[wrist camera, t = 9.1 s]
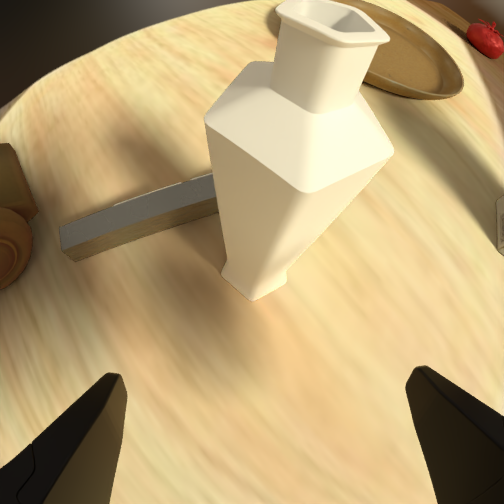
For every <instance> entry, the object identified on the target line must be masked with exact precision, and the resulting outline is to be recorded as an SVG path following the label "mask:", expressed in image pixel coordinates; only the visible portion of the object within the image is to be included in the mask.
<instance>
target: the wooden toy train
mask: <svg viewBox="0 0 504 504" xmlns="http://www.w3.org/2000/svg"><path fill="white" fill-rule="evenodd" d="M38 212H39V210H38V208H37V206H36V203H35V201H34V199H33V196H32V194H31V191H30V189H29V187H28V184H27V182H26V179H25V176H24V174H23V171H22V169H21V166H20V163H19V160H18V157H17V155H16V152H15V150H14V149H13V148H12V146H11V145H10V144H9V143H4V144H0V290H1V289H3V288H5V287H7V286H8V285H10V284H11V283H12V282H13V281H14V280H16V279H17V278H18V276H19V275H20V274H21V273H22V271H23V270H24V269H25V267H26V265H27V263H28V261H29V259H30V257H31V251H32V243H33V237H32V232H31V228H30V226H29V225H28V224H27V222H28V221H29V220H30V219H32V218H33V217H34V216H35V215H36V214H37V213H38Z"/></svg>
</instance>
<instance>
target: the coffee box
mask: <svg viewBox="0 0 504 504" xmlns="http://www.w3.org/2000/svg"><path fill="white" fill-rule="evenodd" d="M496 210H497V250H498V252H500V253H501V254H502V255H504V195H503V196H502V197H500V198H499V199H498V200H497V201H496Z"/></svg>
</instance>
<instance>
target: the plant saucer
mask: <svg viewBox="0 0 504 504" xmlns="http://www.w3.org/2000/svg"><path fill="white" fill-rule="evenodd" d="M330 1H334V2H338V3H342V4H346V5H349V6H352V7H355V8H357V9H359V10H361V11H363V12H364V13H365V14H366V15H368V16H369V17H370V18H371V19H372V20H373V21H374V22H375V23H376V24H377V25H379V26H380V27H381V28H382V29H383V30H384V31H385V32H386V33H387V34H388V35H389V37H390V41H389V42H387V43H384V44H381V45H378V47H377V50H376V52H375V54H374V57H373V59H372V61H371V63H370V66H369V68H368V70H367V72H366V75H365V77H364V79H363V81H364V82H366V83H369V84H371V85H373V86H376V87H378V88H381V89H383V90H386V91H389V92H392V93H395V94H398V95H402V96H406V97H411V98H417V99H425V100H440V99H446V98H450V97H453V96H455V95H457V94H459V93H460V92H461V91H462V89H463V86H464V80H463V76H462V73H461V71H460V69H459V67H458V66H457V64H456V63H455V61H454V60H453V58H452V57H451V56H450V55H449V54H448V53H447V52H446V50H445V49H444V48H443V47H442V46H441V45H440V44H439V43H437V42H436V41H435V40H434V39H433V38H432V37H431V36H429V35H428V34H427V33H425V32H424V31H423V30H421V29H420V28H418V27H417V26H415V25H414V24H412V23H411V22H409V21H407V20H406V19H404V18H402V17H400V16H398V15H397V14H395V13H393V12H390V11H388V10H386V9H384V8H381V7H379V6H376V5H374V4H371V3H368V2H365V1H362V0H330Z"/></svg>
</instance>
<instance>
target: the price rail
mask: <svg viewBox="0 0 504 504" xmlns="http://www.w3.org/2000/svg"><path fill="white" fill-rule="evenodd" d="M218 212H219V209H218V203H217V197H216V191H215V185H214V179H213V173H209V174H206V175H202V176H199V177H196V178H192V179H191V180H190V181H187V182H184V183H181V182H179V183H176V184H173V185H170V186H167V187H164V188H160V189H157V190H154V191H151V192H148V193H146V194H143V195H140V196H137V197H134V198H131V199H128V200H125V201H123V202H120V203H117V204H114V206H113V207H110V208H107V209H105V210H102V211H99V212H97V213H94V214H92V215H89V216H86V217H84V218H81V219H79V220H76V221H74V222H71V223H69V224H67V225H64V226H62V227H59V232H60V242H61V250H62V252H64V253H65V254H66V255H67V256H69V257H70V258H71V259H72V260H74V261H75V262H76V261H79V260H82V259H84V258H87V257H89V256H92V255H95V254H98V253H100V252H103V251H106V250H108V249H111V248H114V247H117V246H119V245H122V244H125V243H128V242H131V241H133V240H136V239H139V238H142V237H145V236H148V235H151V234H154V233H157V232H159V231H162V230H165V229H168V228H171V227H174V226H177V225H180V224H183V223H186V222H189V221H193V220H196V219H199V218H202V217H205V216H208V215H211V214H214V213H218Z"/></svg>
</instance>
